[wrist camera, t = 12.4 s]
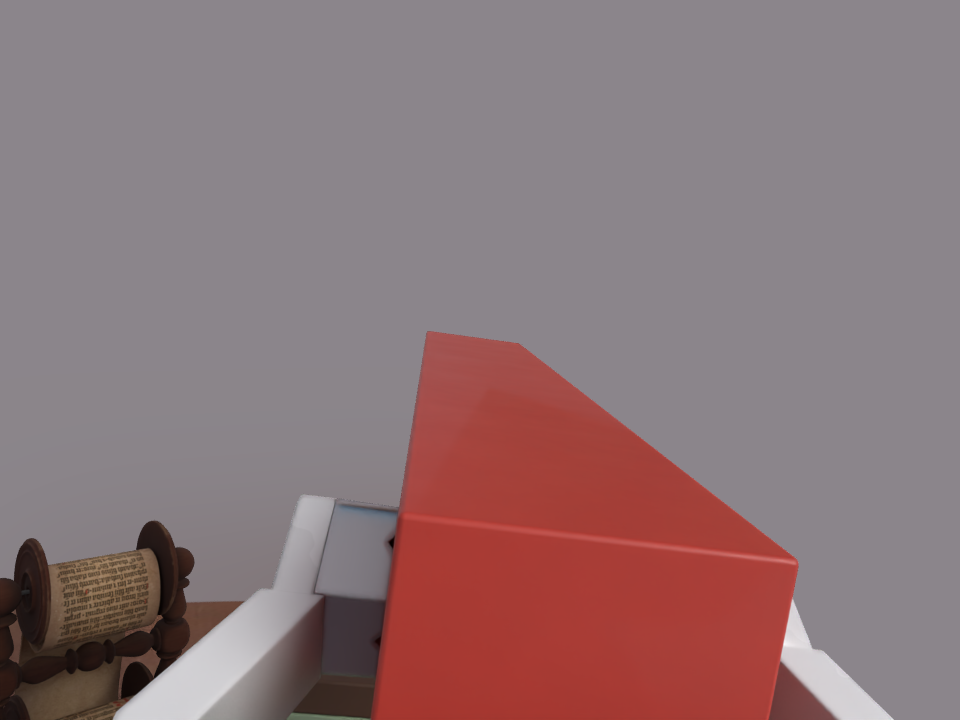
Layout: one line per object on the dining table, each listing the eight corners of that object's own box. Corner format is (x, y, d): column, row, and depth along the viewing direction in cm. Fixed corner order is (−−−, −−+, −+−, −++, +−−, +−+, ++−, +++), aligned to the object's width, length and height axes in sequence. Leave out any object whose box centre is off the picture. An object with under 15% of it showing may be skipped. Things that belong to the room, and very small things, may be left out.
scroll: (149, 740, 54) (173, 481, 52) (247, 868, 44) (282, 554, 42) (-103, 830, 43) (-85, 509, 41) (-48, 1027, 33) (-21, 615, 31)
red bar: (731, 928, 8) (802, 560, 7) (346, 897, 7) (397, 512, 7) (506, 434, 31) (520, 343, 31) (414, 423, 31) (426, 330, 31)
